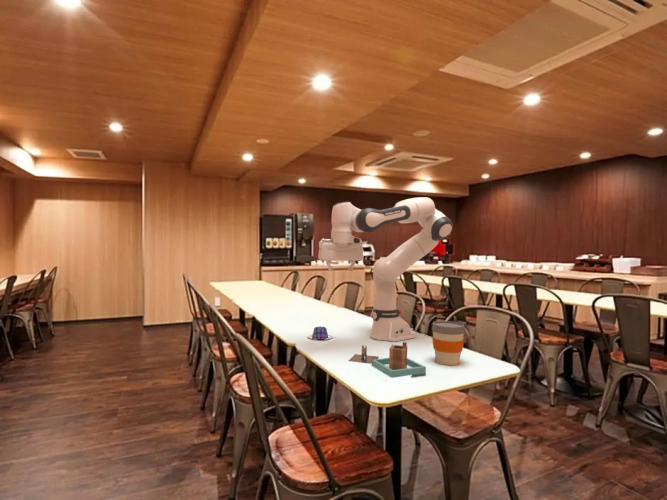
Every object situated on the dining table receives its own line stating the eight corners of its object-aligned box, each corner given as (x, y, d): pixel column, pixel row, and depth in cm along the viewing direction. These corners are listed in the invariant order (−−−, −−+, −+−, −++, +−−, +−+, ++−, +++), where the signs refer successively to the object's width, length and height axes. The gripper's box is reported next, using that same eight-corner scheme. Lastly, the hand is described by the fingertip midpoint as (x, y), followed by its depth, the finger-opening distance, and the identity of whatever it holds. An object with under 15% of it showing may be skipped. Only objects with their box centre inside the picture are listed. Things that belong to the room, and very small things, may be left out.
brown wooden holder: (391, 366, 145) (392, 339, 145) (406, 367, 143) (407, 340, 143) (389, 370, 139) (389, 342, 139) (404, 372, 138) (405, 344, 137)
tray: (403, 363, 150) (403, 356, 150) (425, 375, 137) (425, 366, 137) (371, 367, 145) (371, 359, 145) (391, 380, 132) (392, 371, 132)
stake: (355, 356, 159) (355, 341, 159) (379, 359, 156) (379, 344, 156) (348, 363, 149) (348, 348, 149) (373, 366, 146) (374, 350, 146)
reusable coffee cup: (424, 358, 157) (425, 322, 157) (449, 355, 162) (450, 320, 162) (445, 368, 146) (446, 328, 145) (471, 364, 151) (472, 326, 150)
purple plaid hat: (331, 335, 196) (331, 324, 196) (333, 341, 184) (334, 330, 184) (307, 335, 195) (307, 325, 195) (308, 341, 183) (308, 330, 183)
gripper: (321, 238, 161) (321, 272, 161) (365, 239, 169) (364, 271, 170) (316, 238, 167) (315, 270, 167) (358, 239, 175) (358, 270, 175)
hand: (340, 271), depth 168 cm, fingers open, 8 cm apart
